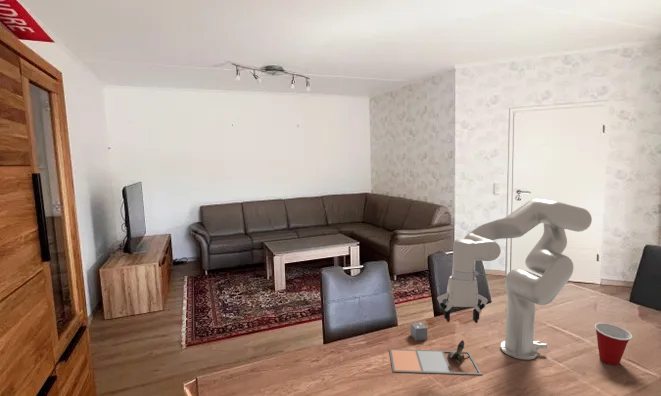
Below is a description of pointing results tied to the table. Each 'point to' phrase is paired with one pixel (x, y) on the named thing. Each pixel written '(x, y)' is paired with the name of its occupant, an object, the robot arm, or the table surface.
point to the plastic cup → (611, 342)
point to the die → (419, 331)
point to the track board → (424, 362)
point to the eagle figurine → (459, 353)
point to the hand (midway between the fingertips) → (461, 320)
